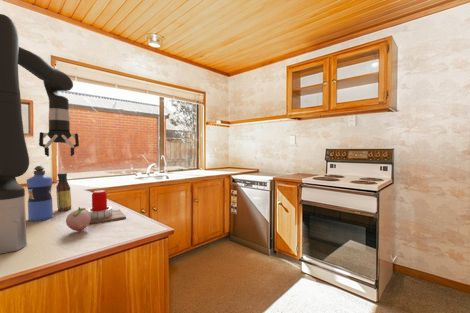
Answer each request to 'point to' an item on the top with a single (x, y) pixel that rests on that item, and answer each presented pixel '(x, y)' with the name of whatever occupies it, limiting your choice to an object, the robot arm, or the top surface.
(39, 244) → the top surface
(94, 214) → the steel collar
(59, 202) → the sauce bottle
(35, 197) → the water bottle
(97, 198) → the beverage can
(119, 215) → the walnut base board
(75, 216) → the decorative fruit
